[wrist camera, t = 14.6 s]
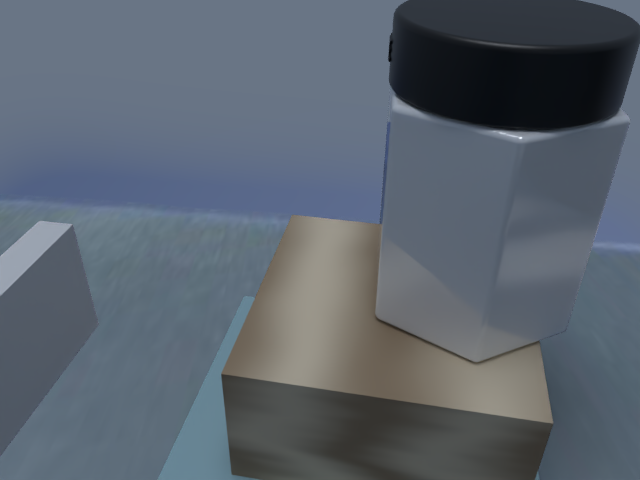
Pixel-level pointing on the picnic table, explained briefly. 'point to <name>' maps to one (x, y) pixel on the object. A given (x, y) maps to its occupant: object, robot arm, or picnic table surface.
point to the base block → (368, 380)
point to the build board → (209, 422)
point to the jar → (497, 165)
